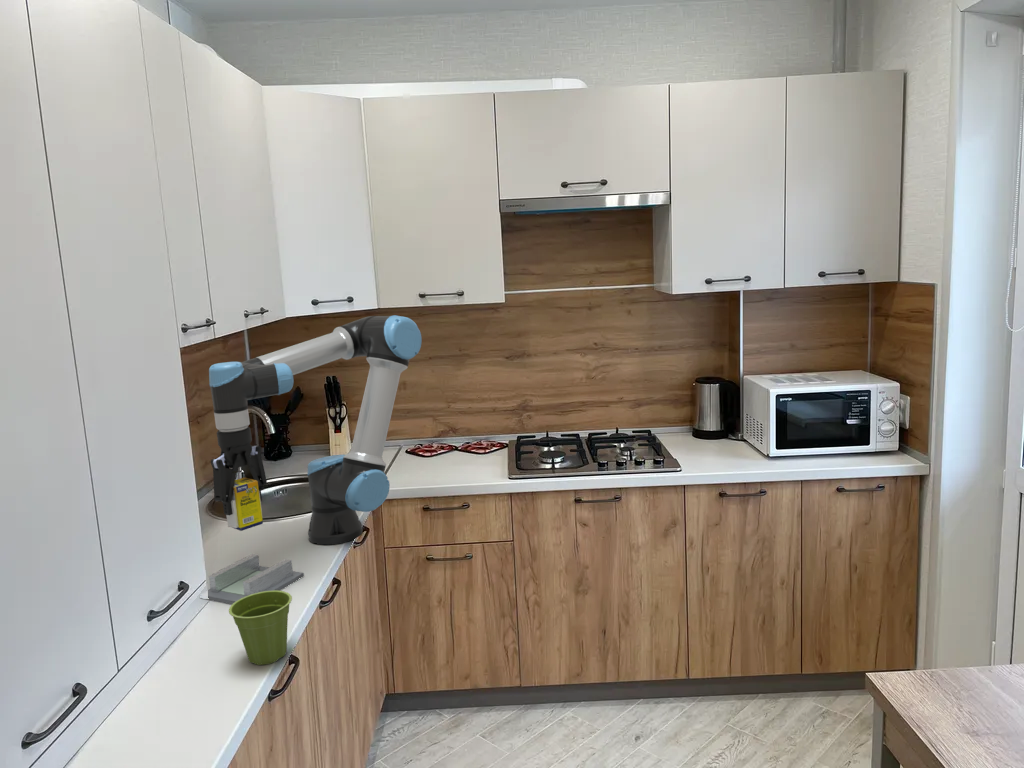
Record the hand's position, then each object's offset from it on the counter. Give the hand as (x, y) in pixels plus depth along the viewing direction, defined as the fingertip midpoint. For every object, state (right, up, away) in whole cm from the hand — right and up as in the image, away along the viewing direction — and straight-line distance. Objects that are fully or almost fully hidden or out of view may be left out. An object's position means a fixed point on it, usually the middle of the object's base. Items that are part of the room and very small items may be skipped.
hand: (245, 521), depth 178 cm
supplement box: (0, -1, 0) cm, 1 cm away
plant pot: (+15, -21, -31) cm, 40 cm away
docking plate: (+1, -17, +3) cm, 17 cm away
